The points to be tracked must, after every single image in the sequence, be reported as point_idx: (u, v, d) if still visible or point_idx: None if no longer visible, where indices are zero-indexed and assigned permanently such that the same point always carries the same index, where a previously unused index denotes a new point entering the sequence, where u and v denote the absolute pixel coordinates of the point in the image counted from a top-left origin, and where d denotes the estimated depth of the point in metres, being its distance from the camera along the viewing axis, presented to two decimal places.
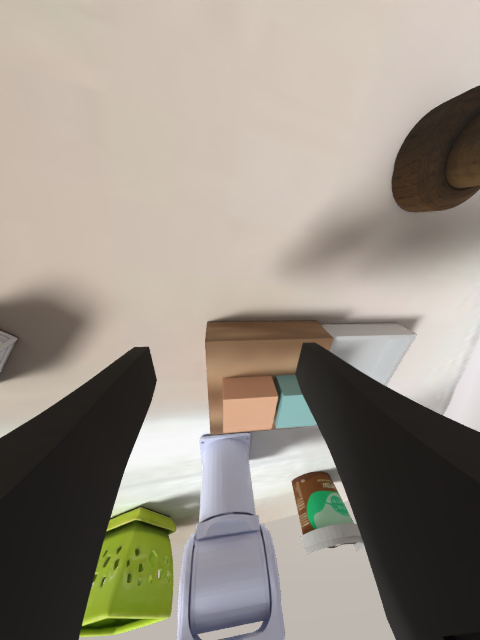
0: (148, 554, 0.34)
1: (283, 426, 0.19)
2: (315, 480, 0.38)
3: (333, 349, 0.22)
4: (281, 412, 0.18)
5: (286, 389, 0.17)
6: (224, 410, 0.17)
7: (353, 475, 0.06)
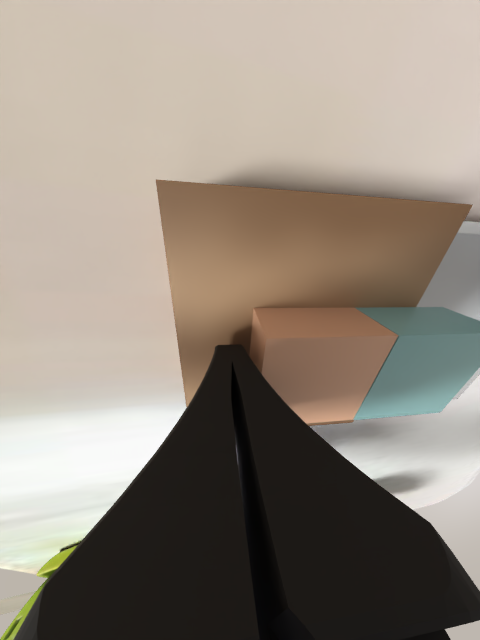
0: None
1: (370, 414, 0.09)
2: None
3: None
4: (378, 382, 0.08)
5: (395, 326, 0.07)
6: (265, 371, 0.07)
7: (242, 488, 0.05)
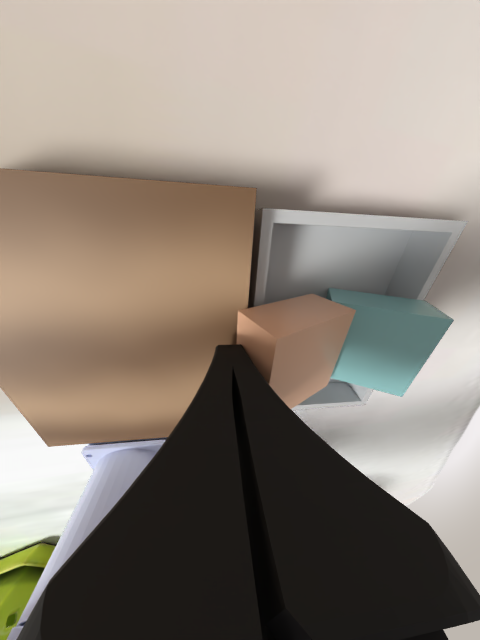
0: None
1: None
2: None
3: (289, 276, 0.11)
4: None
5: (420, 303, 0.10)
6: (274, 370, 0.07)
7: None
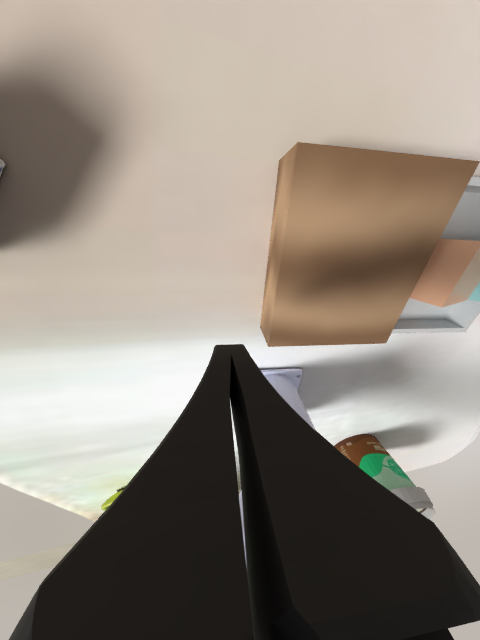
0: None
1: None
2: (364, 442, 0.32)
3: None
4: None
5: None
6: (469, 263, 0.13)
7: (243, 488, 0.05)
